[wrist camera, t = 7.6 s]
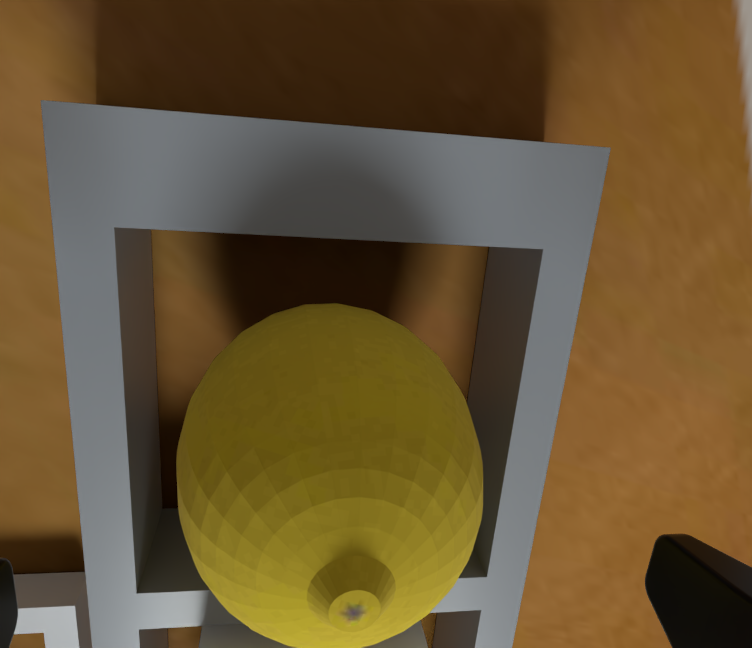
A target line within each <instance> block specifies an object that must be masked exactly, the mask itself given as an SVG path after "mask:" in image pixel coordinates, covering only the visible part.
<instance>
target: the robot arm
mask: <svg viewBox="0 0 752 648" xmlns="http://www.w3.org/2000/svg"><path fill="white" fill-rule="evenodd" d="M645 587H646V592H647V595H648V598H649V600H650V602H651V604H652V606H653V608H654V610H655V612H656V614H657V616H658V619H659V621H660V623H661V625H662V627H663V629H664V631H665V633H666V635H667V638H668V640H669V642H670V644H671V646H672V648H752V567H750V566H748V565H746V564H744V563H742V562H740V561H738V560H736V559H734V558H732V557H730V556H728V555H727V554H725V553H723V552H721V551H719V550H717V549H715V548H713V547H711V546H709V545H707V544H705V543H703V542H702V541H700V540H698V539H696V538H694V537H692V536H690V535H687V534H664V535H661V536H659V537H658V538H657V540H656V541H655V544H654V548H653V551H652V555H651V558H650V562H649V565H648V569H647V573H646V577H645ZM17 619H18V604H17V597H16V590H15V583H14V576H13V569H12V565H11V563H10V561H9V560H8V559H6V558H0V648H9V646H10V643H11V640H12V638H13V635H14V632H15V629H16V625H17Z"/></svg>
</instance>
